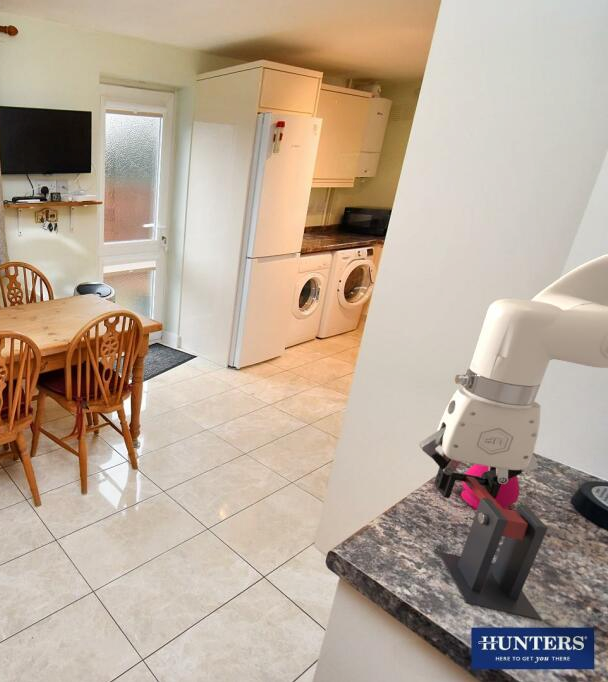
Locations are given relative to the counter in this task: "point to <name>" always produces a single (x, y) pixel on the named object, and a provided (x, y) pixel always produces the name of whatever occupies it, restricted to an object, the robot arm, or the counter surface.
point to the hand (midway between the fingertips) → (462, 495)
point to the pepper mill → (505, 495)
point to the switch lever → (515, 521)
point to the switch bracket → (510, 567)
